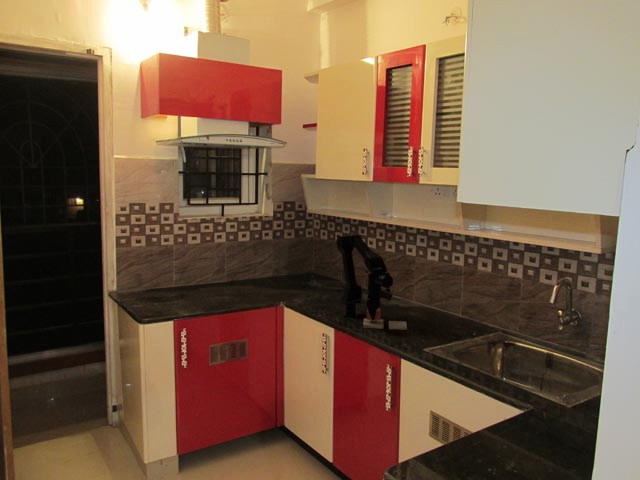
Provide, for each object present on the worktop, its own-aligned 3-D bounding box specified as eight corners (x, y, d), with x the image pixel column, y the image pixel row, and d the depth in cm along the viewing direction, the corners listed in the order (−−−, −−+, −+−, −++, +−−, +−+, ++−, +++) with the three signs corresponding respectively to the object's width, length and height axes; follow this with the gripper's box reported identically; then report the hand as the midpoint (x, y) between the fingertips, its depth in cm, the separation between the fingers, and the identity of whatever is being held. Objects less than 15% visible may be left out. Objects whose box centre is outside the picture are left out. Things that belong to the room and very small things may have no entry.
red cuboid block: (367, 316, 251) (367, 307, 251) (380, 316, 250) (380, 308, 250) (366, 319, 245) (366, 311, 245) (380, 320, 245) (380, 311, 244)
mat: (388, 322, 252) (388, 320, 252) (406, 323, 251) (406, 321, 251) (388, 328, 243) (388, 327, 242) (406, 329, 242) (406, 327, 241)
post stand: (364, 321, 254) (364, 308, 253) (383, 322, 253) (383, 308, 252) (363, 327, 244) (363, 313, 243) (383, 328, 243) (383, 314, 242)
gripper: (392, 289, 236) (391, 323, 238) (391, 280, 254) (391, 312, 256) (366, 288, 237) (365, 322, 239) (368, 279, 255) (367, 311, 257)
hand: (373, 317), depth 248 cm, fingers open, 9 cm apart
